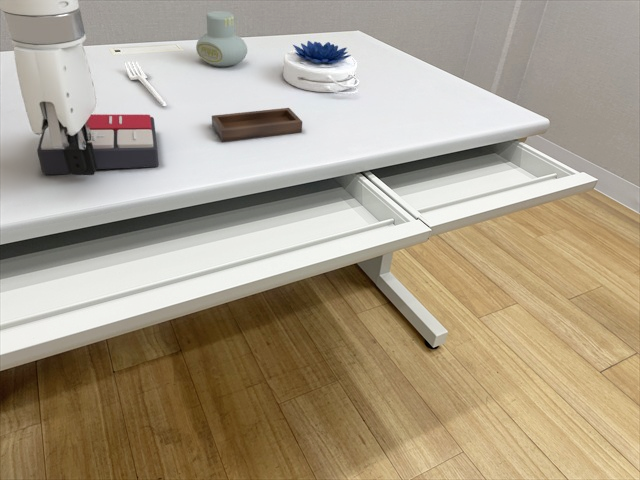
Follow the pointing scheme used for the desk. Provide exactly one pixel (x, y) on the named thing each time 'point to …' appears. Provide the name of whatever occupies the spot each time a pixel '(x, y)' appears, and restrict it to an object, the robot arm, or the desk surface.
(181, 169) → the desk surface
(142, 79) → the fork
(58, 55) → the robot arm
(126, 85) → the desk surface
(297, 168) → the desk surface
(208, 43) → the air freshener
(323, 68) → the box with blue lotus
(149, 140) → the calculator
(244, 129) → the pen tray
